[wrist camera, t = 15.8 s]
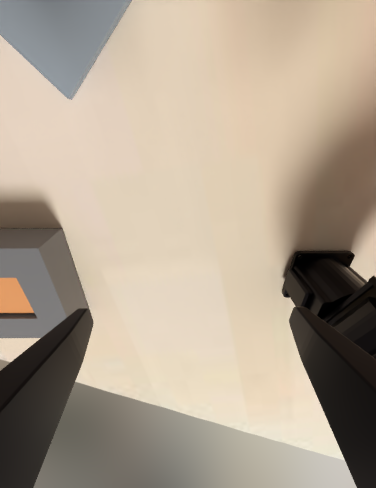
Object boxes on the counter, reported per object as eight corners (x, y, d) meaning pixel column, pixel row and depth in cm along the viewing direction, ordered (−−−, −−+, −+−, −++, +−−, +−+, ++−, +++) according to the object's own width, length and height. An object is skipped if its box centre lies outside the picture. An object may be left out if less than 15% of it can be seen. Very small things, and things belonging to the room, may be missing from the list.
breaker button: (36, 259, 23) (17, 277, 20) (51, 293, 25) (35, 312, 22) (-9, 260, 23) (-34, 277, 20) (10, 293, 25) (-10, 313, 22)
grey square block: (62, 228, 21) (38, 248, 18) (89, 310, 27) (75, 337, 24) (-56, 228, 21) (-103, 248, 18) (-3, 311, 27) (-30, 338, 24)
